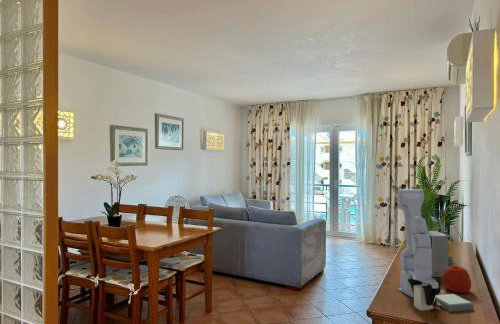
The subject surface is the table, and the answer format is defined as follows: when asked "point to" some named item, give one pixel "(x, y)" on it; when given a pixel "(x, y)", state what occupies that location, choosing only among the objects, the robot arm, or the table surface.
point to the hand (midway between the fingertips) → (423, 301)
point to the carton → (420, 298)
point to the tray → (453, 302)
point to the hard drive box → (439, 254)
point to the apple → (456, 279)
